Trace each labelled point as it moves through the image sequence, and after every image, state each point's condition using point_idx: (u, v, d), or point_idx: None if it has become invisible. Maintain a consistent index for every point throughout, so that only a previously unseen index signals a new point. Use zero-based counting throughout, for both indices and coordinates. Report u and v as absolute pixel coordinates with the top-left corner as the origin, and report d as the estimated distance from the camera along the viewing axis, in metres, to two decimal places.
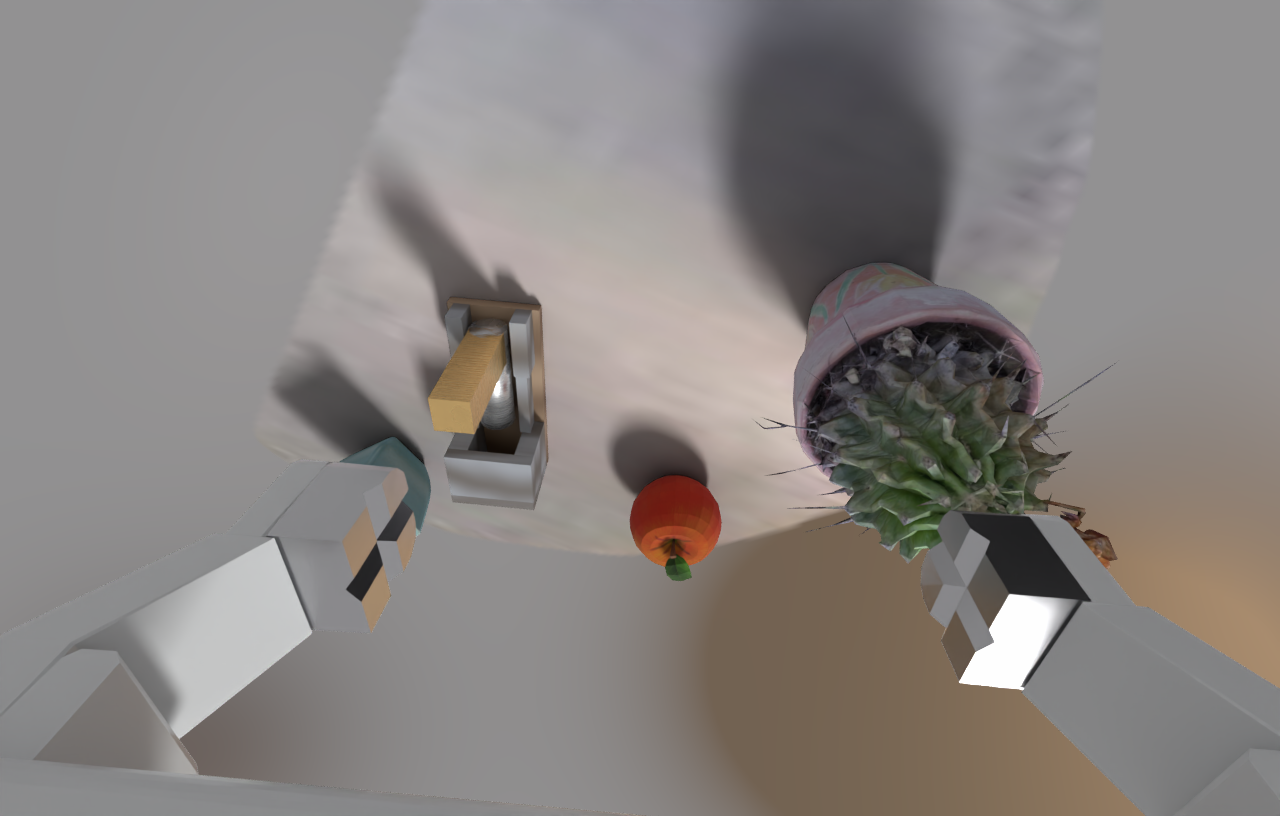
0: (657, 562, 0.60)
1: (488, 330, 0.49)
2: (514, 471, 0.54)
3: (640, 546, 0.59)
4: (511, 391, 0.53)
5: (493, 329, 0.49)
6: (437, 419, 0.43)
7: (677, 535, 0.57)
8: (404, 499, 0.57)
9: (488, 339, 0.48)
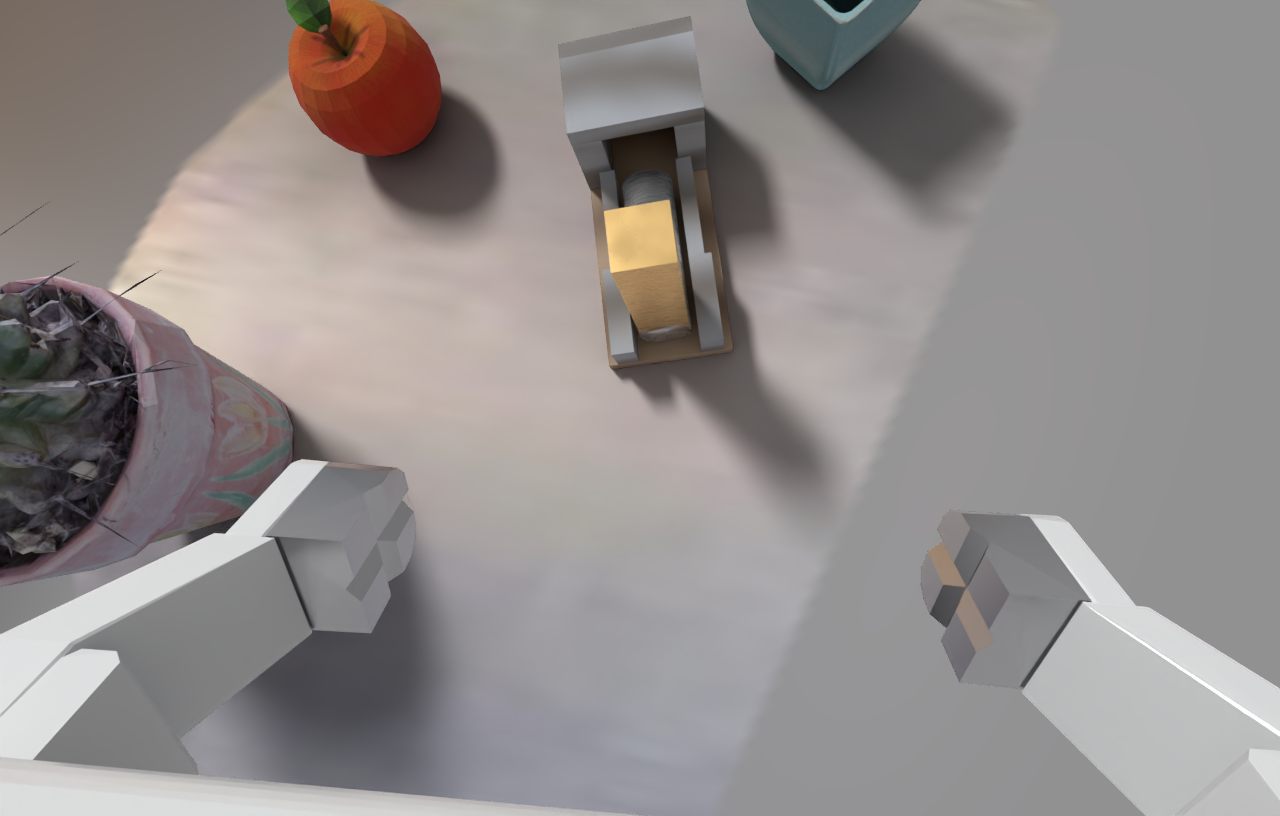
0: (355, 1, 0.37)
1: (662, 331, 0.35)
2: (591, 113, 0.34)
3: (388, 25, 0.37)
4: None
5: (656, 333, 0.35)
6: (663, 223, 0.26)
7: (332, 69, 0.36)
8: None
9: (652, 326, 0.34)
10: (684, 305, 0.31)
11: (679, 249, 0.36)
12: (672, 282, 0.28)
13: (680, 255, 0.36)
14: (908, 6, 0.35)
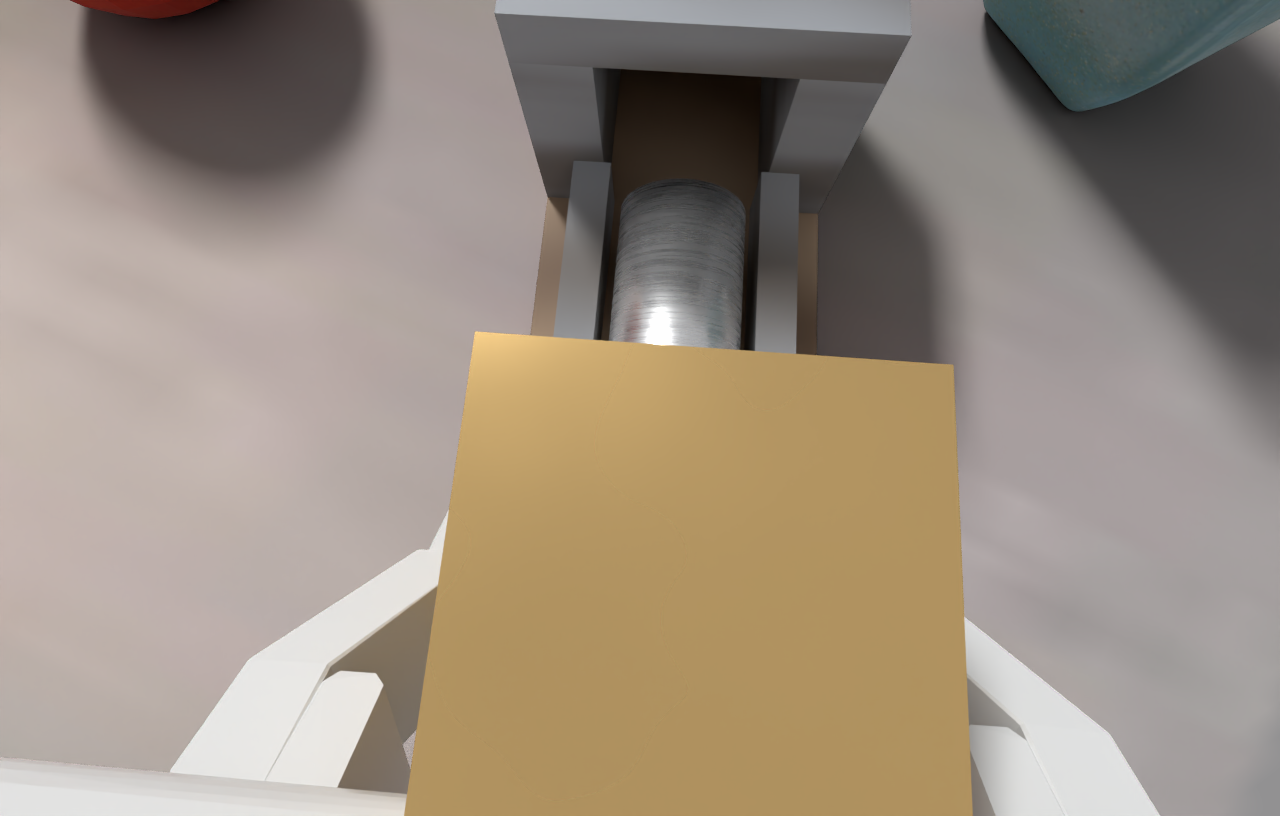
0: None
1: None
2: None
3: None
4: (609, 340, 0.14)
5: None
6: (891, 541, 0.03)
7: None
8: None
9: None
10: None
11: None
12: None
13: None
14: None
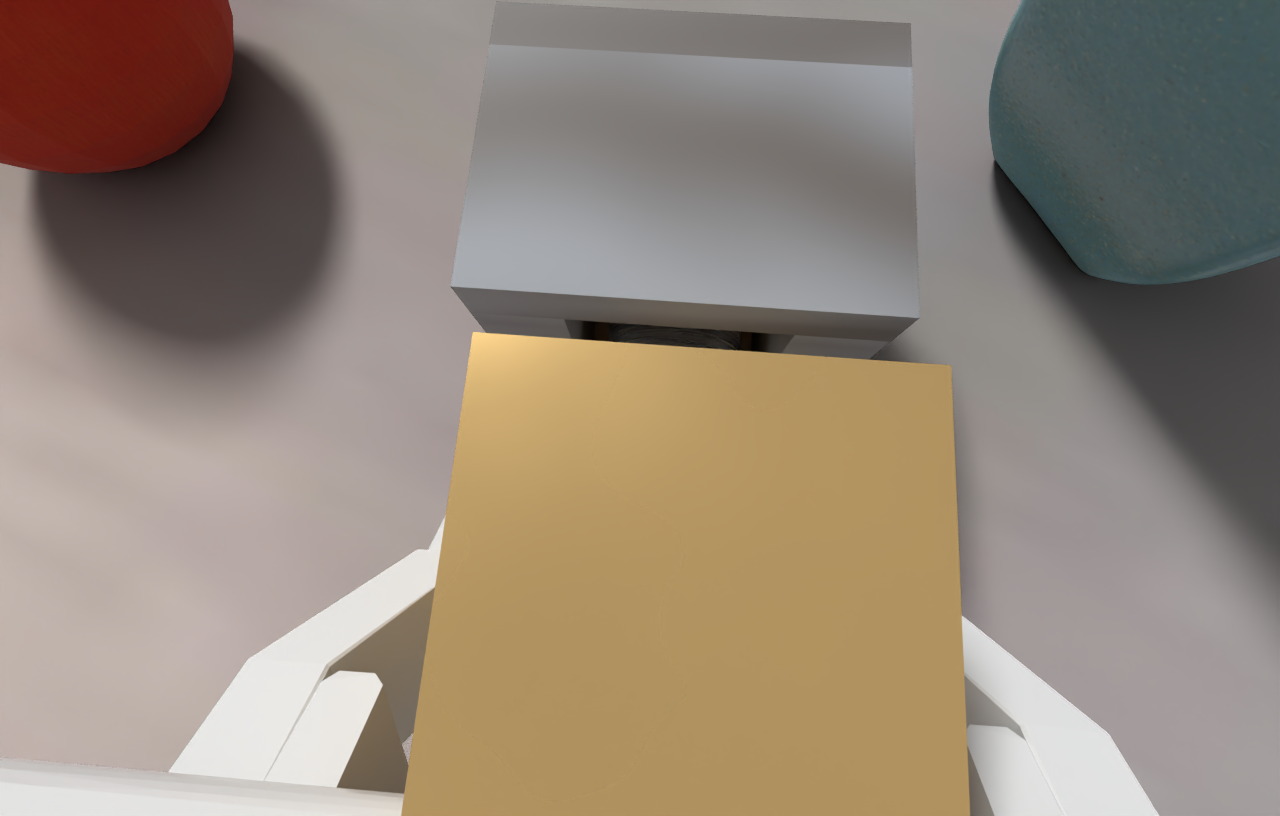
0: None
1: None
2: (546, 241, 0.10)
3: None
4: (608, 341, 0.14)
5: None
6: (888, 541, 0.03)
7: None
8: (1160, 22, 0.11)
9: None
10: None
11: None
12: None
13: None
14: None
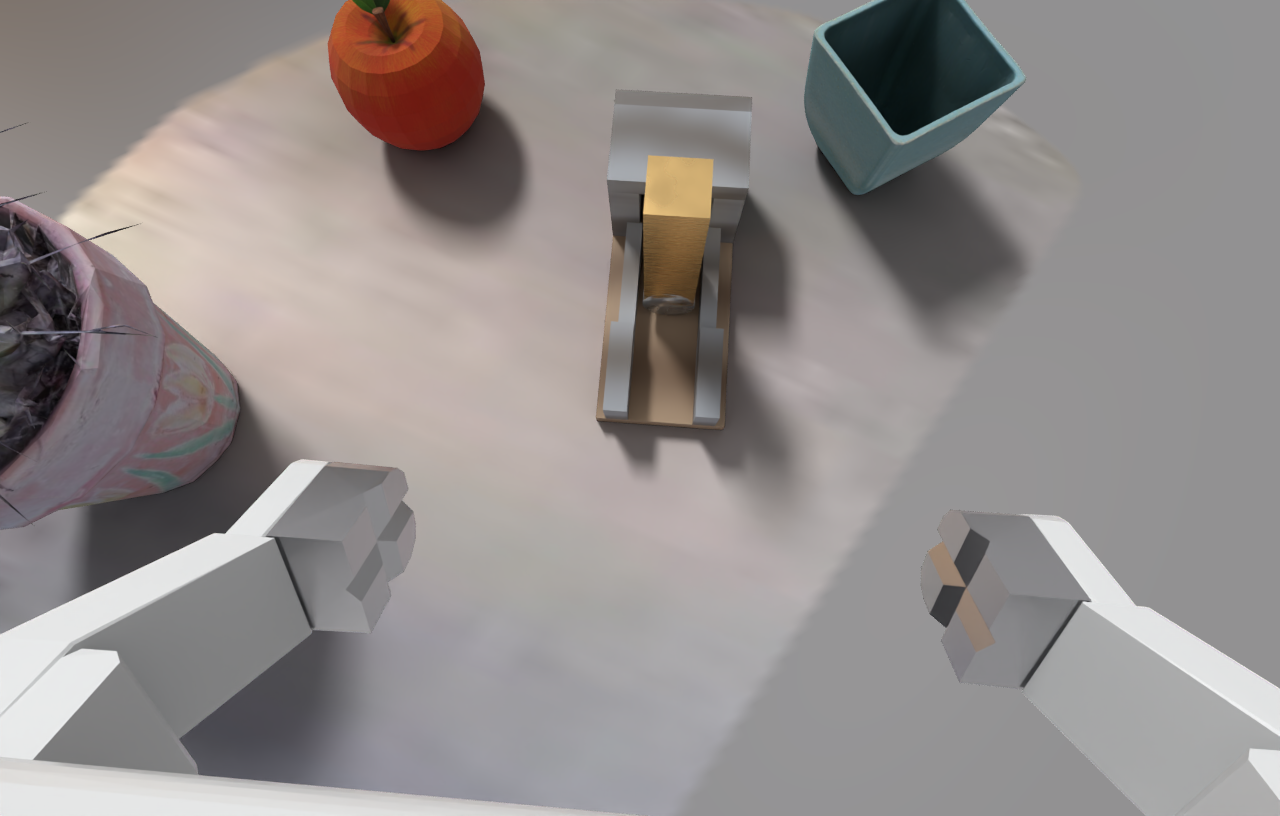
0: None
1: (665, 302, 0.35)
2: (635, 166, 0.33)
3: (445, 24, 0.35)
4: None
5: (660, 303, 0.36)
6: (703, 179, 0.26)
7: (377, 53, 0.34)
8: (835, 96, 0.34)
9: (659, 292, 0.34)
10: (697, 274, 0.31)
11: None
12: (696, 242, 0.28)
13: None
14: (954, 141, 0.36)
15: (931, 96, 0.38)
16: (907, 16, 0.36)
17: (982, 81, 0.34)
